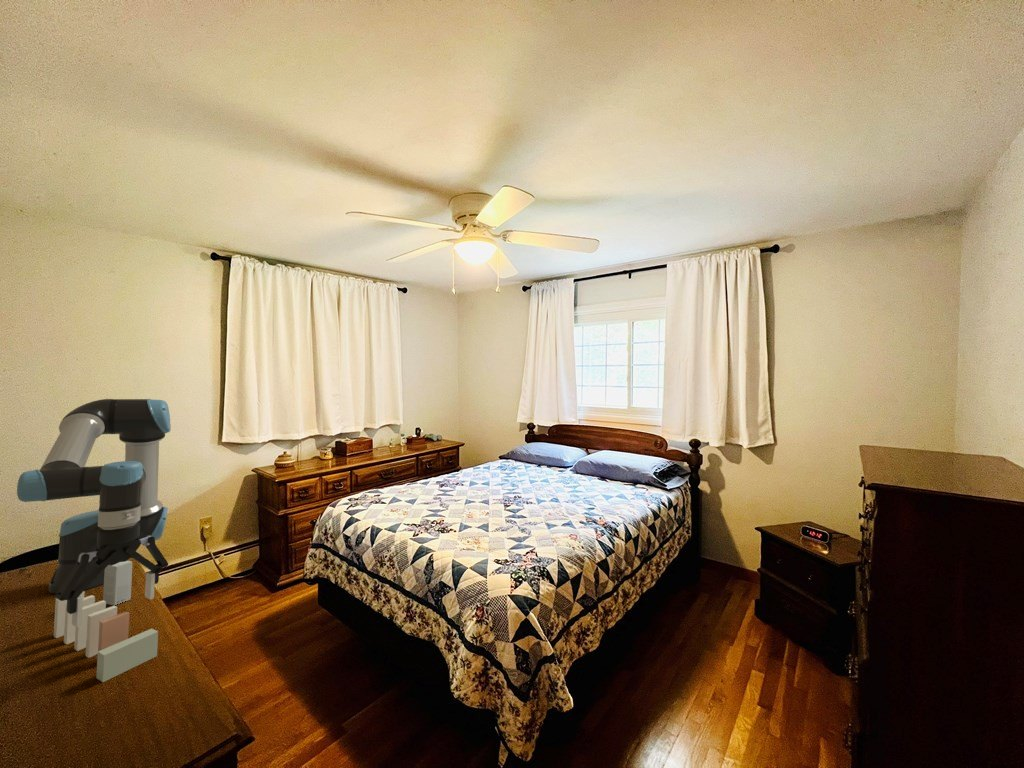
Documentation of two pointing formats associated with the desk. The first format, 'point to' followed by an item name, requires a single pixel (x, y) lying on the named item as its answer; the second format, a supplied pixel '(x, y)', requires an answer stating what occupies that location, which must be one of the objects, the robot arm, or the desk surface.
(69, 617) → the domino
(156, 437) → the robot arm
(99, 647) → the domino
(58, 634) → the domino
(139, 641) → the end block
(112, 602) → the skincare box
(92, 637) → the domino
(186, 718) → the desk surface
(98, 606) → the domino
